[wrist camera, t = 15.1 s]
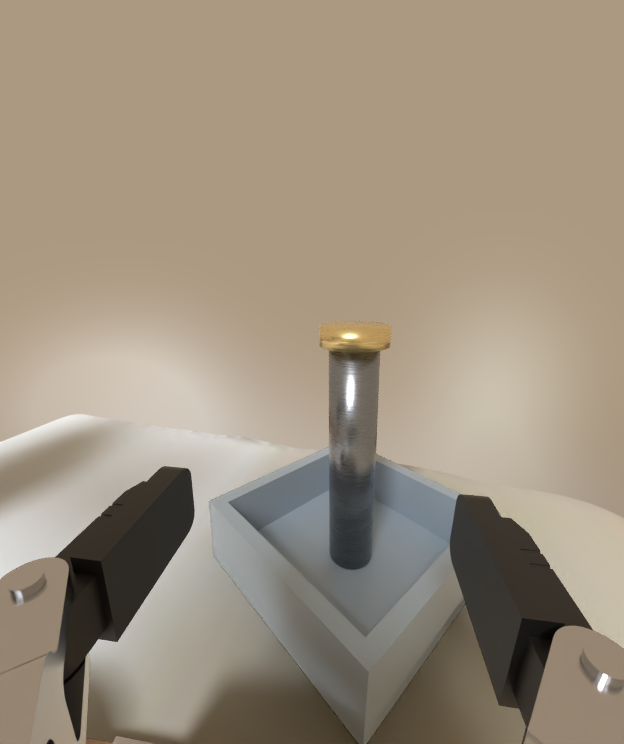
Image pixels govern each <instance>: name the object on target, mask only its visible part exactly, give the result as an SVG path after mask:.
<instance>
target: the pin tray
mask: <svg viewBox="0 0 624 744" xmlns="http://www.w3.org/2000/svg"><path fill="white" fill-rule="evenodd" d="M458 495H460V493H458V492H456V491H454V490H451V489H449V488H447V487H445V486H443V485H441V484H439V483H437V482H435V481H432V480H430V479H428V478H426V477H424V476H422V475H420V474H418V473H415V472H413V471H411V470H409V469H407V468H405V467H403V466H401V465H399V464H396V463H394V462H392V461H390V460H388V459H386V458H383V457H382V456H379V455H377V454H376V464H375V488H374V513H373V537H372V557H371V560H370V562H369V563H368V564H367V565H366V566H365V567H363V568H360V569H356V570H350V569H345V568H342V567H340V566H338V565H337V564H335V563H334V562H333V560H332V559H331V557H330V553H329V447H327V448H325V449H323V450H321V451H318V452H316V453H314V454H312V455H310V456H307V457H305V458H303V459H301V460H299V461H296V462H294V463H292V464H290V465H288V466H285V467H283V468H281V469H279V470H277V471H274V472H272V473H270V474H268V475H266V476H263V477H261V478H259V479H257V480H255V481H252V482H250V483H248V484H246V485H244V486H241V487H239V488H237V489H235V490H233V491H230V492H228V493H226V494H224V495H221V496H219V497H217V498H215V499H213V500H210V501H209V507H210V518H211V530H212V541H213V552H214V557H215V558H216V559H217V561H218V562H219V563H220V564H221V566H222V567H223V568H224V570H225V571H226V572H227V574H228V575H229V576H230V577H231V579H232V580H233V581H234V583H235V584H236V585H237V587H238V588H239V589H240V590H241V592H242V593H243V594H244V596H245V597H246V598H247V600H248V601H249V602H250V603H251V605H252V606H253V607H254V609H255V610H256V611H257V613H258V614H259V615H260V616H261V618H262V619H263V620H264V622H265V623H266V624H267V625H268V627H269V628H270V629H271V631H272V632H273V633H274V635H275V636H276V637H277V638H278V640H279V641H280V642H281V644H282V645H283V646H284V648H285V649H286V650H287V651H288V653H289V654H290V655H291V657H292V658H293V659H294V661H295V662H296V663H297V664H298V666H299V667H300V668H301V670H302V671H303V672H304V674H305V675H306V676H307V677H308V679H309V680H310V681H311V683H312V684H313V685H314V687H315V688H316V689H317V690H318V692H319V693H320V694H321V696H322V697H323V698H324V699H325V701H326V702H327V703H328V705H329V706H330V707H331V709H332V710H333V711H334V712H335V714H336V715H337V716H338V718H339V719H340V720H341V722H342V723H343V724H344V725H345V727H346V728H347V729H348V731H349V732H350V733H351V735H352V736H353V737H354V738H355V740H356V741H357V742H358V744H367V743H368V741H369V740H370V738H371V737H372V736H373V734H374V733H375V731H376V730H377V729H378V727H379V726H380V724H381V723H382V721H383V720H384V719H385V717H386V716H387V714H388V713H389V711H390V710H391V709H392V707H393V706H394V704H395V703H396V702H397V700H398V699H399V697H400V696H401V694H402V693H403V692H404V690H405V689H406V687H407V686H408V685H409V683H410V682H411V680H412V679H413V677H414V676H415V675H416V673H417V672H418V670H419V669H420V667H421V666H422V665H423V663H424V662H425V660H426V659H427V658H428V656H429V655H430V653H431V652H432V650H433V649H434V648H435V646H436V645H437V643H438V642H439V641H440V639H441V638H442V636H443V635H444V633H445V632H446V631H447V629H448V628H449V626H450V625H451V624H452V622H453V621H454V619H455V618H456V616H457V615H458V614H459V612H460V611H461V609H462V608H463V606H464V605H465V601H464V598H463V595H462V592H461V589H460V586H459V583H458V580H457V577H456V574H455V571H454V568H453V565H452V561H451V555H450V536H451V530H452V524H453V518H454V511H455V505H456V500H457V497H458ZM499 514H501V513H500V512H499Z"/></svg>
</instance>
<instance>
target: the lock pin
mask: <svg viewBox="0 0 624 744" xmlns="http://www.w3.org/2000/svg"><path fill="white" fill-rule="evenodd" d="M390 341H391V325H389V324H385V323H378V322H366V321H365V322H364V321H344V322H331V323H326V324H322V325H320V326H319V346H320V347H321V348H323V349H326V350H329V553H330V557H331V559H332V560H333V562H334V563H335V564H337V565H338V566H340V567H342V568H345V569H350V570H356V569H360V568H363V567H365V566H366V565H367V564H368V563H369V562H370V560H371V557H372V537H373V513H374V488H375V464H376V438H377V415H378V414H377V413H378V391H379V366H380V351H381V350H385V349H388V348H389V347H390Z"/></svg>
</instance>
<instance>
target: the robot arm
mask: <svg viewBox="0 0 624 744" xmlns="http://www.w3.org/2000/svg"><path fill="white" fill-rule="evenodd" d="M193 519H194V501H193V491H192V480H191V473H190V471H189V469H187V468H177V467H166V466H164V467H161V468H160V469H159V470H158V471H157V472H156V473H155V474H154V475H153V476H152V477H151V478H150V479H149V480H148V481H147V482H145V481H143V482H141V483H139V484H138V485H136V486H134V487H132V488H130V489H129V490H127V491H125V492H124V493H123V494H122V495H121V496H120V497H119V498H118V499H117V500H116V501H115V502H114V503H113V505H112V506H109V507H108V508H107V509H106V510H105V511H104V512H103V513H102V515H101V517H98V518H97V519H95V520H94V521H93V522H92V523H91V524H90V525H89V526H88V527H87V528H86V529H85V530H84V531H83V532H82V533H80V534H79V535H78V536H77V537H76V538H75V539H74V540H73V541H72V542H71V543H70V544H69V545H68V546H67V547H66V548H64V549H63V550H62V551H61V552H60V553H59V554H58V555H57V556H56V557H55V558H54V557H50V558H42V559H38V560H34V561H32V562H29V563H26V564H24V565H22V566H20V567H18V568H16V569H14V570H13V571H11V572H9V573H8V574H6V575H5V576H4V577H2V578H1V579H0V744H86V729H87V711H88V692H89V674H90V655H89V651H90V650H91V649H92V647H93V646H94V644H95V643H96V641H97V640H98V639H102V640H108V641H115V642H117V641H118V640H119V638H120V637H121V635H122V634H123V632H124V631H125V629H126V628H127V626H128V625H129V623H130V622H131V620H132V618H133V617H134V615H135V614H136V612H137V611H138V609H139V608H140V606H141V605H142V603H143V602H144V600H145V599H146V597H147V595H148V594H149V592H150V591H151V589H152V588H153V586H154V585H155V583H156V582H157V580H158V579H159V577H160V576H161V574H162V573H163V571H164V569H165V568H166V566H167V565H168V563H169V562H170V560H171V559H172V557H173V556H174V554H175V553H176V551H177V550H178V548H179V546H180V545H181V543H182V542H183V540H184V539H185V537H186V536H187V534H188V533H189V531H190V529H191V526H192V523H193ZM450 555H451V561H452V565H453V568H454V571H455V574H456V577H457V580H458V583H459V586H460V589H461V592H462V595H463V598H464V601H465V604H466V607H467V610H468V613H469V616H470V619H471V622H472V625H473V628H474V631H475V634H476V637H477V640H478V643H479V646H480V649H481V652H482V655H483V658H484V661H485V664H486V667H487V670H488V673H489V676H490V679H491V682H492V685H493V688H494V691H495V694H496V697H497V700H498V703H499V705H500V706H506V707H512V708H518V709H520V711H521V714H522V717H523V719H524V722H525V725H526V730H525V733H524V736H523V740H522V743H521V744H624V648H622V647H621V646H619V645H618V644H617V643H615V642H614V641H612V640H611V639H609V638H607V637H606V636H604V635H602V634H600V633H598V632H595V631H593V629H592V628H591V626H590V625H589V623H588V622H587V620H586V619H585V617H584V616H583V614H582V613H581V611H580V610H579V608H578V607H577V605H576V604H575V602H574V601H573V599H572V598H571V596H570V595H569V593H568V592H567V590H566V589H565V587H564V586H563V584H562V583H561V581H560V580H559V578H558V577H557V575H556V574H555V572H554V571H553V569H550V565H549V563H548V562H547V560H546V559H545V557H544V556H543V554H540V550H539V548H538V547H537V545H536V544H535V542H534V541H533V539H532V538H531V536H530V535H529V533H528V532H526V531H525V530H524V529H523V528H522V527H520V526H519V525H518V524H517V523H516V522H515V521H513V520H512V519H511V518H503V517H501V516H500V514H499V512H498V511H497V509H496V507H495V506H494V504H493V502H492V501H491V499H490V498H489V497H484V496H473V495H462V494H460V495H458V497H457V500H456V505H455V511H454V518H453V524H452V530H451V536H450Z"/></svg>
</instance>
